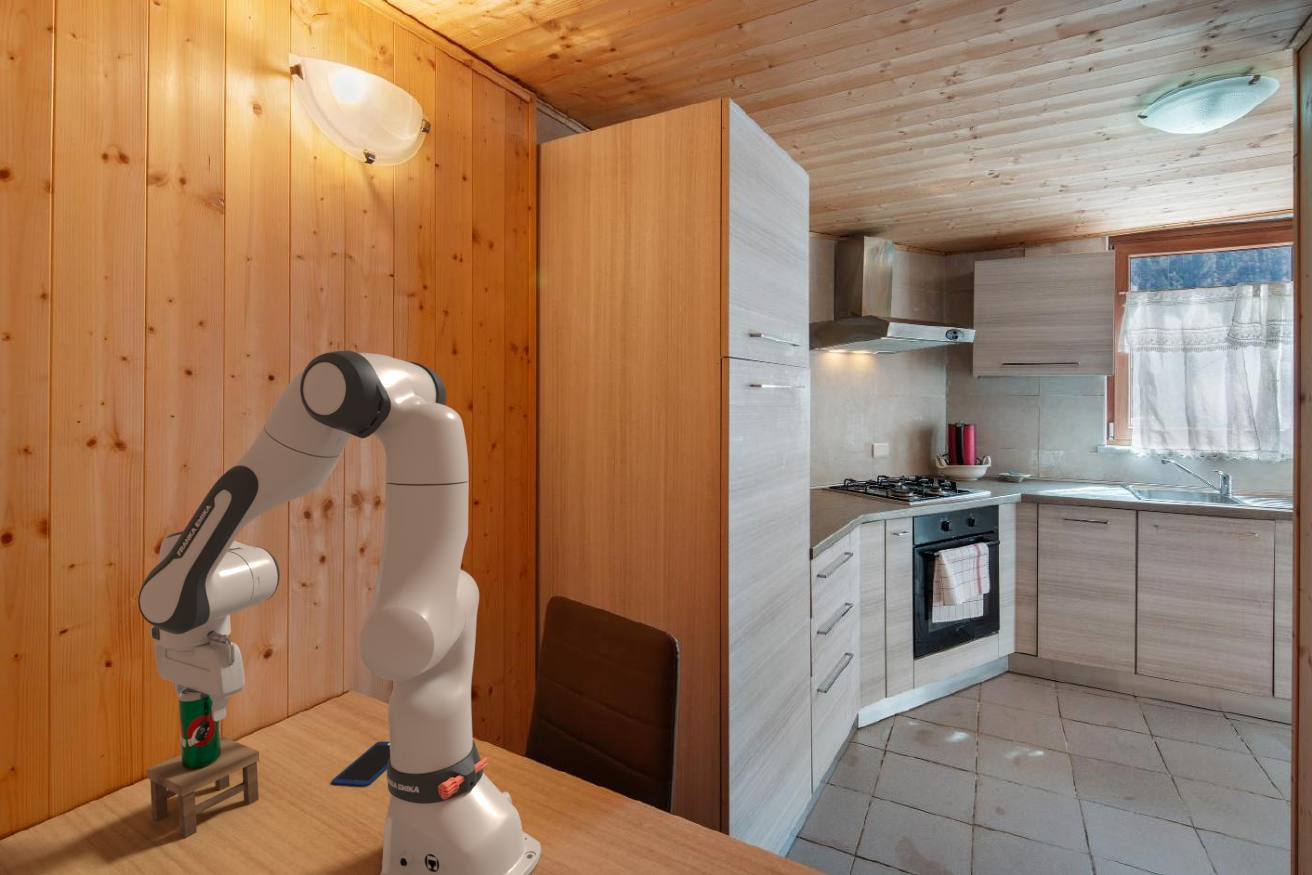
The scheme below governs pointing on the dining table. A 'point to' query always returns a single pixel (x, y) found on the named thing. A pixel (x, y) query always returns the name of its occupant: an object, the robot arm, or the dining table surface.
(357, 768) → the cell phone
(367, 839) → the dining table surface
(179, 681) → the robot arm
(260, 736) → the dining table surface
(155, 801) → the stool
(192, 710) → the soda can
